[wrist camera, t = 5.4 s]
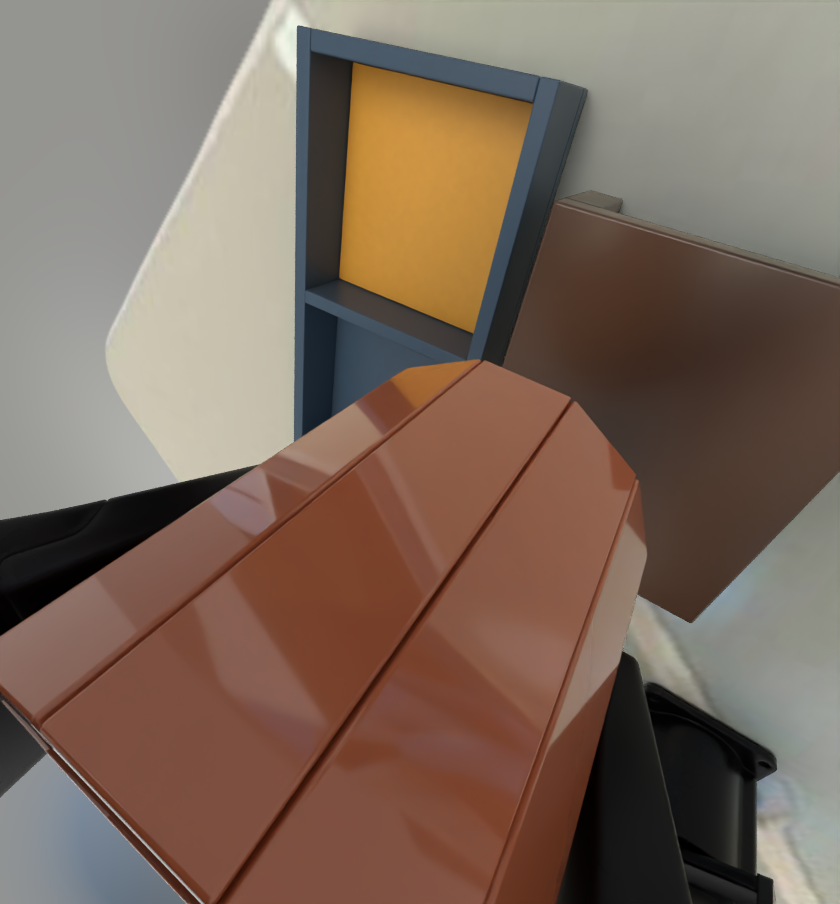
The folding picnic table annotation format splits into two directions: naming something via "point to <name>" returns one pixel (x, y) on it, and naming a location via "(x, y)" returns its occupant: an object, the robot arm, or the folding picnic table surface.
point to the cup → (357, 655)
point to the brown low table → (689, 382)
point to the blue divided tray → (413, 210)
